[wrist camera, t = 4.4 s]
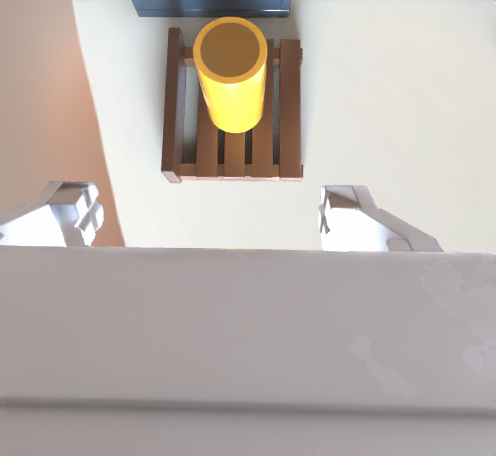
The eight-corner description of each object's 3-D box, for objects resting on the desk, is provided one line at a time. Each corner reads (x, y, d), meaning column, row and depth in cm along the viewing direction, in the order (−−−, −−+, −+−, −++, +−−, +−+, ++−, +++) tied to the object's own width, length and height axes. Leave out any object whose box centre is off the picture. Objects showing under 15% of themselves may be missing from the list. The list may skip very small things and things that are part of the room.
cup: (264, 80, 33) (267, 16, 25) (263, 133, 33) (267, 84, 25) (208, 79, 33) (194, 15, 26) (206, 132, 33) (191, 83, 25)
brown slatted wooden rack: (300, 52, 36) (305, 28, 32) (301, 184, 34) (306, 173, 30) (175, 52, 36) (167, 27, 33) (169, 183, 34) (159, 171, 31)
